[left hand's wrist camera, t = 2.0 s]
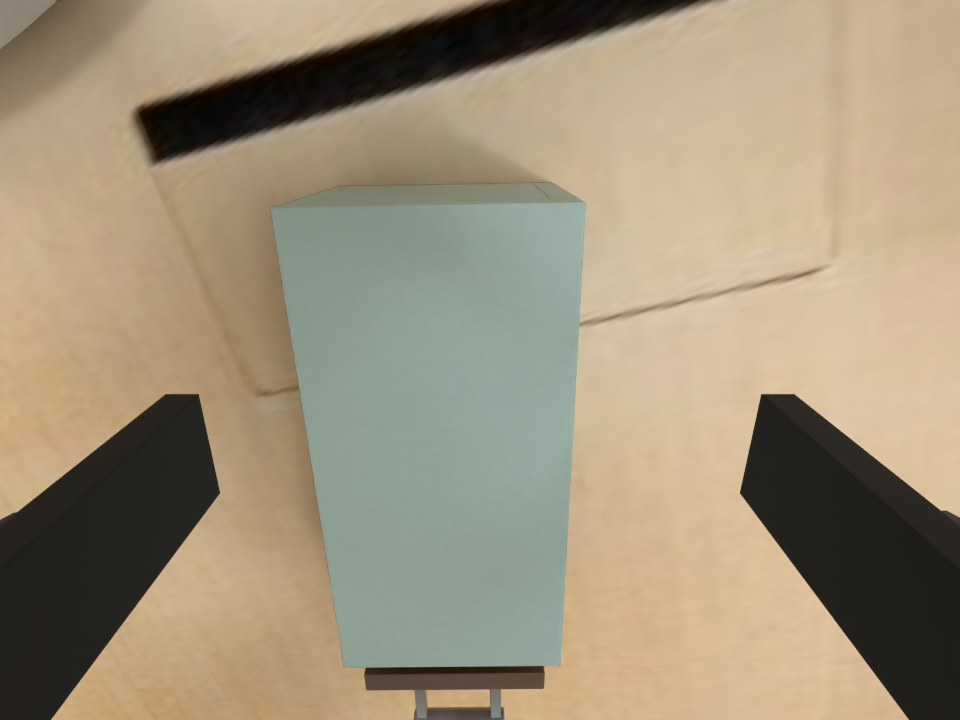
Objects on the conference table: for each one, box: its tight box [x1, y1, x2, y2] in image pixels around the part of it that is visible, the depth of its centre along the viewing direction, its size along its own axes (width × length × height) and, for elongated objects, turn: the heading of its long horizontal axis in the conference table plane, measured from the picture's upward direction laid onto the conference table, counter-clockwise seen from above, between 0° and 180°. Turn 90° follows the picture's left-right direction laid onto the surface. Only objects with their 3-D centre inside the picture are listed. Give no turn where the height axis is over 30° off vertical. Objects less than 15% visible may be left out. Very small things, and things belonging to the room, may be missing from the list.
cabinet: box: [270, 182, 586, 668], centre depth 26 cm, size 22×11×9 cm, turn 1°
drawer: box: [364, 666, 545, 720], centre depth 29 cm, size 26×9×7 cm, turn 1°
